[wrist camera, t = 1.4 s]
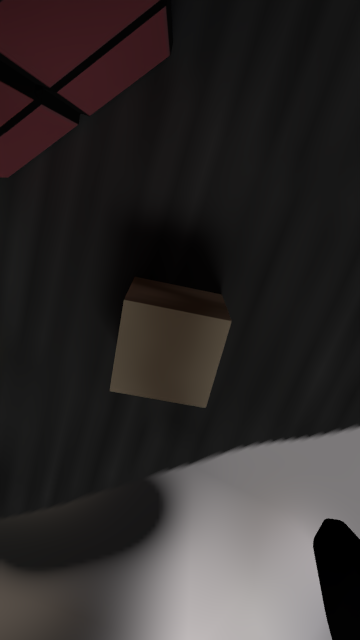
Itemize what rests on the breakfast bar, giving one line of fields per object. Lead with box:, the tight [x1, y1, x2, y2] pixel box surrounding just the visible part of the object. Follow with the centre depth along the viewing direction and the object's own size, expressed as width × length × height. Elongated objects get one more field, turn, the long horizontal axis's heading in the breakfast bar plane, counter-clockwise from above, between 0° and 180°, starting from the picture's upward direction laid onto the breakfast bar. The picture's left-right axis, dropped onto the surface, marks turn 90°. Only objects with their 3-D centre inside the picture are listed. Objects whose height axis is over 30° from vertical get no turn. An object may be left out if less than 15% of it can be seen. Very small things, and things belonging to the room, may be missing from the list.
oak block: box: [110, 277, 231, 408], centre depth 18 cm, size 5×5×4 cm
